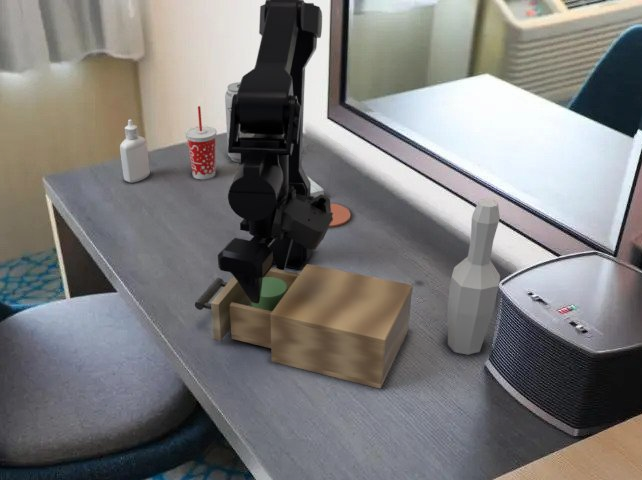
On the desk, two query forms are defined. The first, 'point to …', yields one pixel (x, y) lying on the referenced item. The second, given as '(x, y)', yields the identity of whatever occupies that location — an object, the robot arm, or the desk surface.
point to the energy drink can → (228, 103)
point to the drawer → (240, 310)
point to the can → (271, 293)
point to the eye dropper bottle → (134, 155)
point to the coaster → (339, 215)
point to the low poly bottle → (474, 284)
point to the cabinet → (341, 324)
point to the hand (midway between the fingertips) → (268, 285)
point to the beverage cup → (202, 149)
